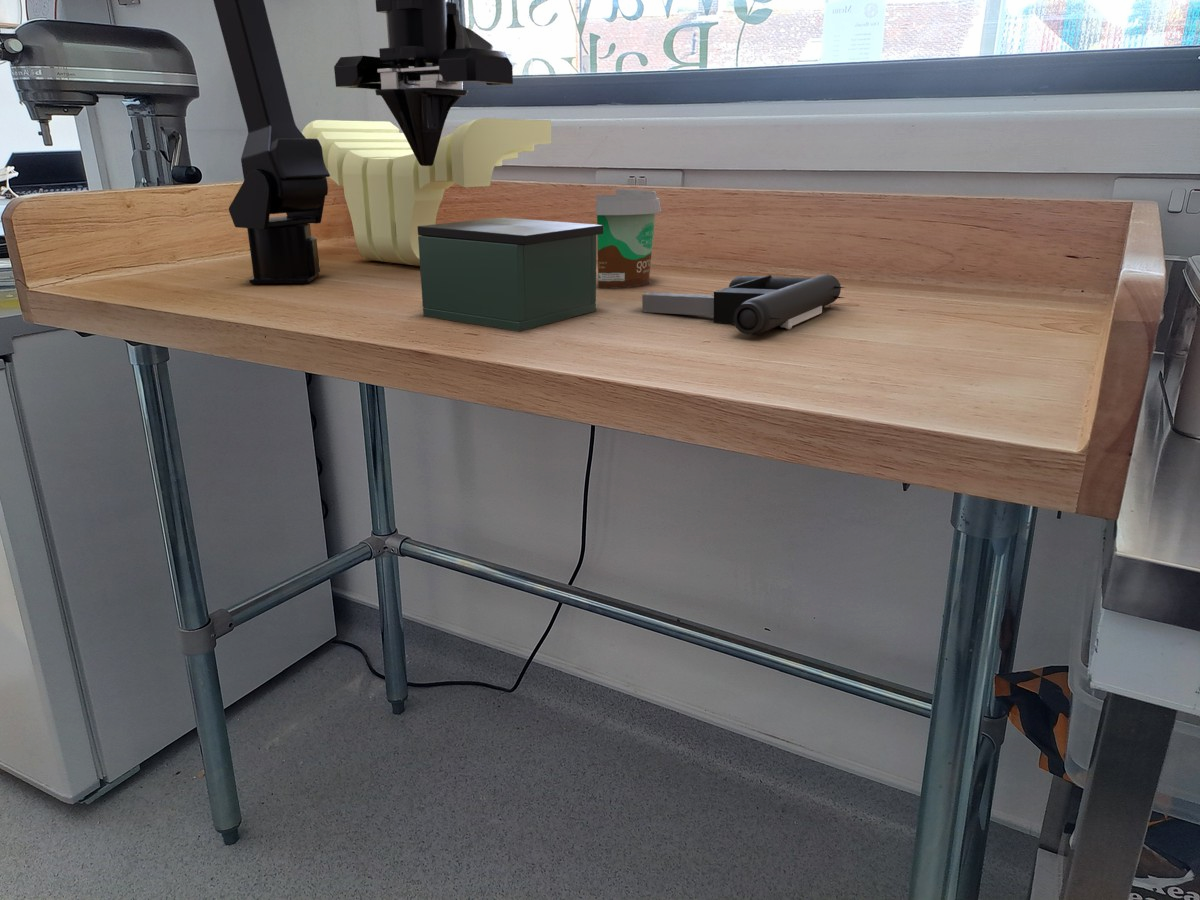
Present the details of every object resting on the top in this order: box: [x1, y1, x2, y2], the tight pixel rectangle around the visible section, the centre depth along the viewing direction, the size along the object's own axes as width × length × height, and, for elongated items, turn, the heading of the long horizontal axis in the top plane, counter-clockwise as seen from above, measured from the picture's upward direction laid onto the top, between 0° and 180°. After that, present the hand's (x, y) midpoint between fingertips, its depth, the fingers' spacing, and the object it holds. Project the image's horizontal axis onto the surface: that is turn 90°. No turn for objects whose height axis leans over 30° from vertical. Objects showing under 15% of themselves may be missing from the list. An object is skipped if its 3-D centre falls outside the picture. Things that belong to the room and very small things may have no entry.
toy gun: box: [641, 273, 845, 335], centre depth 81 cm, size 3×20×16 cm
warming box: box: [418, 235, 597, 332], centre depth 80 cm, size 12×12×7 cm
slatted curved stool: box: [301, 117, 552, 267], centre depth 113 cm, size 30×16×18 cm, turn 54°
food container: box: [595, 188, 662, 289], centre depth 97 cm, size 12×6×10 cm, turn 168°
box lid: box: [418, 217, 604, 245], centre depth 78 cm, size 12×12×1 cm
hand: (426, 165), depth 85 cm, fingers closed
